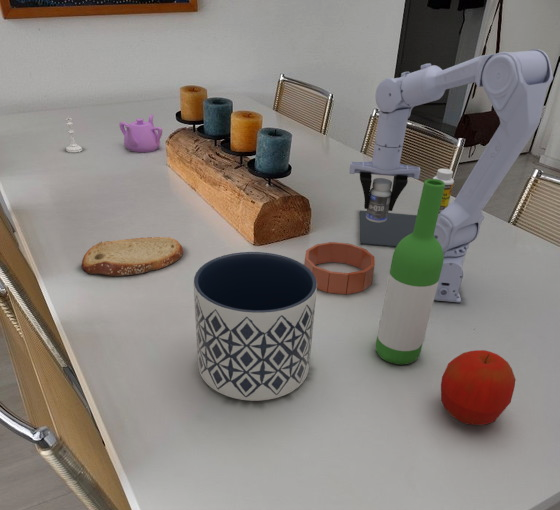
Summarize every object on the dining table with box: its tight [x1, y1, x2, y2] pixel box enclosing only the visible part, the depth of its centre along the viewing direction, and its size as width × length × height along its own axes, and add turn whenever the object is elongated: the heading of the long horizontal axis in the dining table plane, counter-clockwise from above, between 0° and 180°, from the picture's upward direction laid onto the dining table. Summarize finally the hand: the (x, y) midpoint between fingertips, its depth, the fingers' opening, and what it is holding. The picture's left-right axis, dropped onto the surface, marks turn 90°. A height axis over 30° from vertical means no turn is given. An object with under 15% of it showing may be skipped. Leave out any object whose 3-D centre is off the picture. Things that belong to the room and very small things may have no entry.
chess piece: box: [65, 115, 83, 153], centre depth 170 cm, size 5×5×10 cm
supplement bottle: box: [432, 168, 455, 213], centre depth 145 cm, size 6×6×10 cm
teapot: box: [118, 113, 163, 153], centre depth 176 cm, size 12×14×9 cm
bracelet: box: [303, 241, 376, 295], centre depth 114 cm, size 14×14×4 cm
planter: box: [193, 251, 318, 402], centre depth 85 cm, size 18×18×16 cm
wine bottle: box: [375, 178, 445, 366], centre depth 85 cm, size 8×8×30 cm
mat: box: [359, 210, 417, 248], centre depth 136 cm, size 20×20×1 cm
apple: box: [440, 349, 517, 426], centre depth 80 cm, size 10×10×12 cm
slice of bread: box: [81, 236, 184, 277], centre depth 116 cm, size 18×18×4 cm
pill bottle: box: [366, 177, 393, 223], centre depth 118 cm, size 5×5×8 cm
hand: (378, 208), depth 119 cm, fingers closed on pill bottle, 5 cm apart
